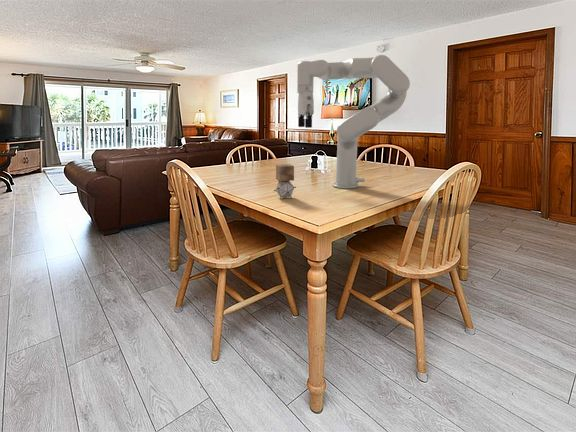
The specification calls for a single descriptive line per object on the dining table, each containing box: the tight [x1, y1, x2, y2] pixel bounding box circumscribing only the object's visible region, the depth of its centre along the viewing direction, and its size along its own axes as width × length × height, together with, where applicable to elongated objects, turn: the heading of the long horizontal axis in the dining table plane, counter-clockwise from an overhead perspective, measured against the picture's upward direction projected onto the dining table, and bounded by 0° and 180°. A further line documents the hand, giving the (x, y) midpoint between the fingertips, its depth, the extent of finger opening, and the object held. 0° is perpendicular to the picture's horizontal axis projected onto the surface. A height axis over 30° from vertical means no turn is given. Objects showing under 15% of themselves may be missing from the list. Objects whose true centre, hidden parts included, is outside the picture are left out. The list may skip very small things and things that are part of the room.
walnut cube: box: [275, 163, 295, 182], centre depth 150 cm, size 6×6×6 cm
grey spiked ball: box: [273, 180, 297, 200], centre depth 152 cm, size 9×8×10 cm
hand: (304, 127), depth 174 cm, fingers open, 9 cm apart
